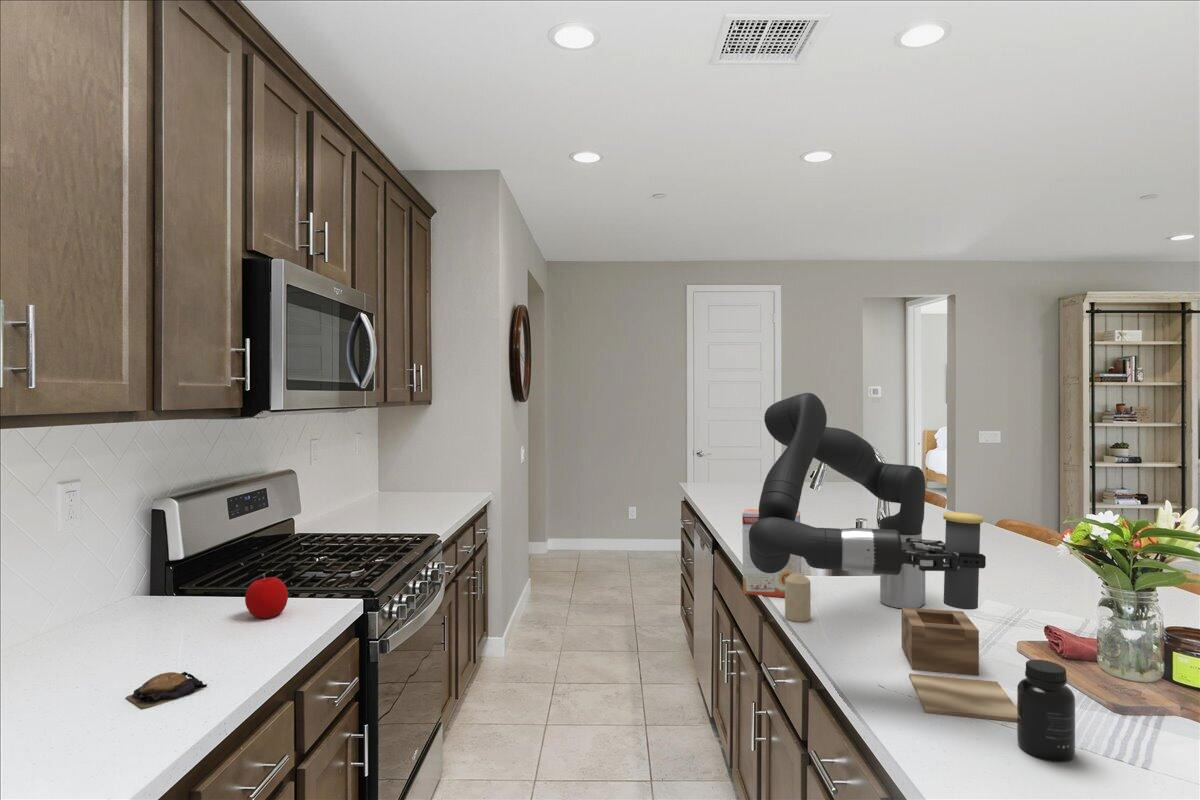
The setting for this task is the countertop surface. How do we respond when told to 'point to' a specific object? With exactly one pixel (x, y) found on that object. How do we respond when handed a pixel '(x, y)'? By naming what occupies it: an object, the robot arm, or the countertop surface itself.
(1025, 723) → the supplement bottle
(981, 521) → the plug
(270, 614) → the fruit
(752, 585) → the cracker box
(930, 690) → the cork mat
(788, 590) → the candle
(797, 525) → the robot arm
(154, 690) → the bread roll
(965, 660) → the socket block
